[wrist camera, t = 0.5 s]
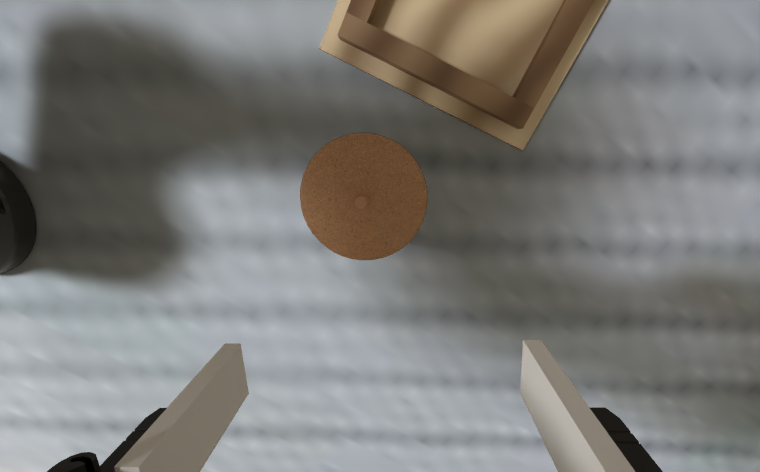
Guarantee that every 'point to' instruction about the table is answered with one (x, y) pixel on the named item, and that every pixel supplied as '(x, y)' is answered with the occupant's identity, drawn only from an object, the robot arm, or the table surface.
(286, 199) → the table surface
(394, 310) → the table surface
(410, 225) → the lidded jar
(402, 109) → the table surface
